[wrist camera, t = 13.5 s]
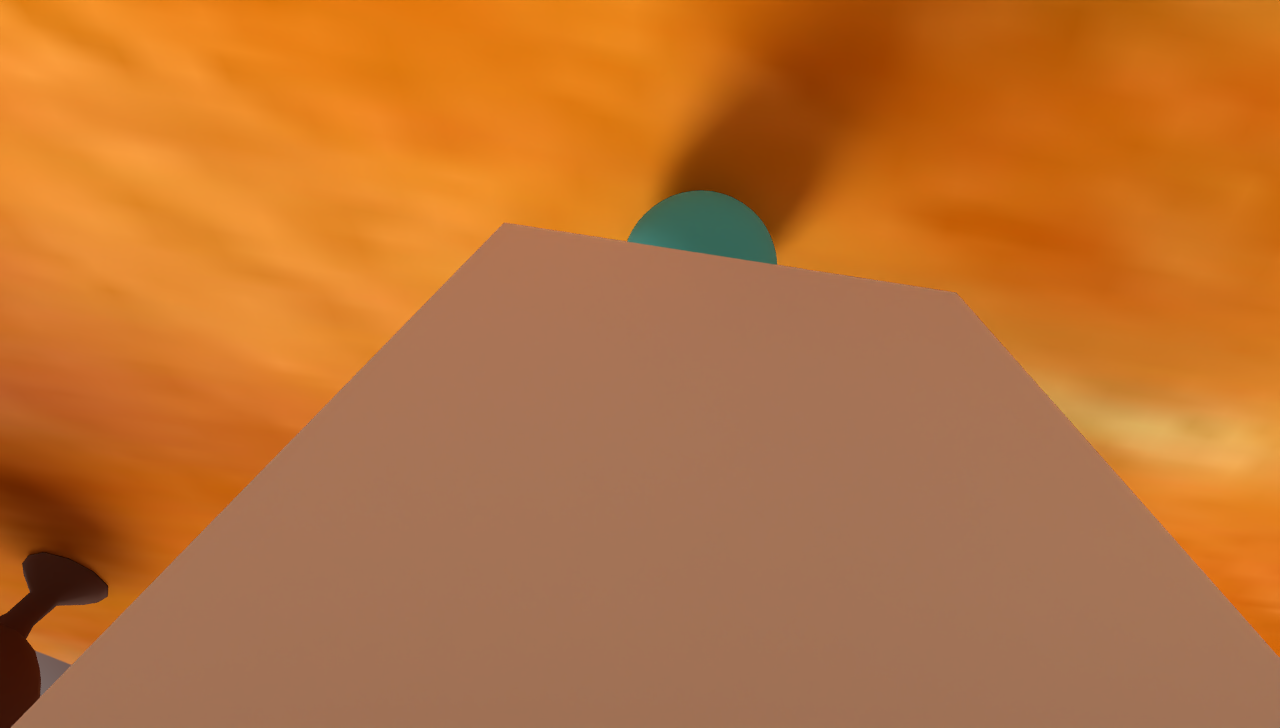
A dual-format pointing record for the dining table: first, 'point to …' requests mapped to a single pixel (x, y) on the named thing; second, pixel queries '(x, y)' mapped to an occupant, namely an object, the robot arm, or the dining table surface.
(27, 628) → the ice cream bowl
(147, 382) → the dining table surface
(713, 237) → the ball
